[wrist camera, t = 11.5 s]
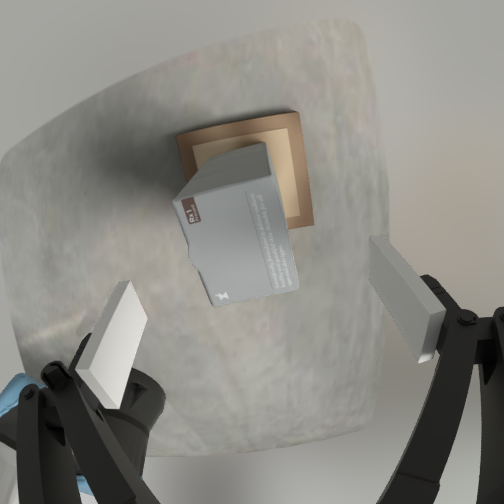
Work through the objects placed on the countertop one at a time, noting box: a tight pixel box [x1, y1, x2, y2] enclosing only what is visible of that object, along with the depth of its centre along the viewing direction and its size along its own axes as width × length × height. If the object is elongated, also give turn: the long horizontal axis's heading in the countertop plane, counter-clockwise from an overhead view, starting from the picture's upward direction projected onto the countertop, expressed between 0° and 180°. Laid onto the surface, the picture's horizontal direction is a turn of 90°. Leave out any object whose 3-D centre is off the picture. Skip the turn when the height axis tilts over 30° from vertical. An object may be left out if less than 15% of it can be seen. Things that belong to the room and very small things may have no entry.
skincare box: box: [172, 142, 299, 307], centre depth 26 cm, size 8×7×16 cm
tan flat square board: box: [176, 112, 314, 229], centre depth 34 cm, size 13×13×2 cm
